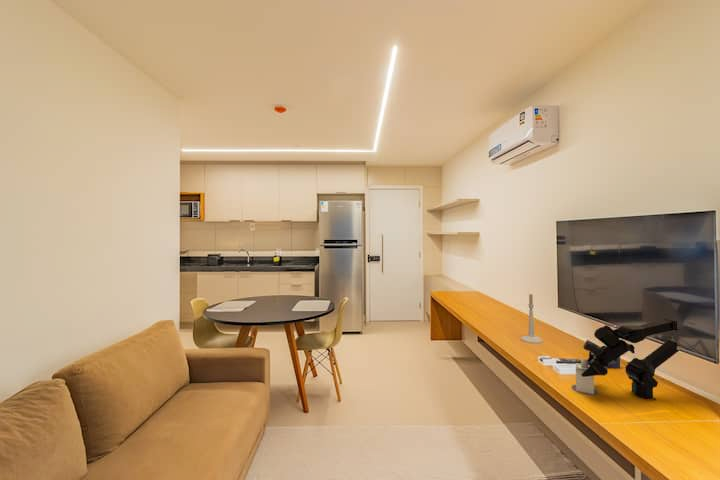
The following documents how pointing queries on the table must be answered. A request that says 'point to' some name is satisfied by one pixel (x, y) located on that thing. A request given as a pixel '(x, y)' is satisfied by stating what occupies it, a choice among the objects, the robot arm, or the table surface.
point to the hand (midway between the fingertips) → (582, 371)
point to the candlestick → (531, 326)
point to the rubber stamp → (584, 378)
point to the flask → (615, 364)
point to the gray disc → (584, 392)
